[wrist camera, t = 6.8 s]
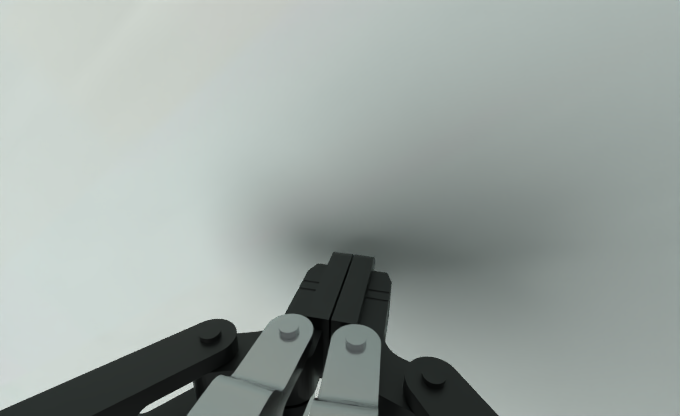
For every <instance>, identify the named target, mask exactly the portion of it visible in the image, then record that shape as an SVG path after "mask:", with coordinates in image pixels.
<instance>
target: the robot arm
mask: <svg viewBox="0 0 680 416" xmlns="http://www.w3.org/2000/svg"><path fill="white" fill-rule="evenodd" d="M374 264H375V258H374V257H369V256H362V255H353V254H345V253H338V252H333V254H332V256H331V258H330V260H329V263H328V265H325V264H317V265H315V266H314V267H312V268H311V269H310V270H308V272H307V274H306V276H305V278H304V279H303V281H302V283H301V285H300V287H299V289H298V291H297V292H296V294H295V296H294V298H293V300H292V302H291V304H290V305H289V307H288V309H287V311H286V313H285V314H284V315H281V316H278V317H276V318H274V319H273V320H271V321H270V322H269V323H268V325H267V326H266V327H265V329H264V330H263V331H259V332H249V333H237V331H236V327H235V325H234V324H233V323H231V322H230V321H228V320H224V319H212V320H207V321H204V322H202V323H199V324H197V325H195V326H193V327H190V328H188V329H186V330H183V331H181V332H179V333H177V334H174V335H172V336H170V337H167V338H165V339H163V340H161V341H158V342H156V343H154V344H151V345H149V346H147V347H145V348H142V349H140V350H138V351H136V352H133V353H131V354H129V355H126V356H124V357H122V358H120V359H117V360H115V361H113V362H110V363H108V364H106V365H104V366H101V367H99V368H97V369H94V370H92V371H90V372H88V373H85V374H83V375H81V376H78V377H76V378H74V379H72V380H69V381H67V382H65V383H62V384H60V385H58V386H56V387H53V388H51V389H49V390H46V391H44V392H42V393H40V394H37V395H35V396H33V397H30V398H28V399H26V400H24V401H21V402H19V403H17V404H14V405H12V406H10V407H8V408H5V409H3V410H1V411H0V416H308V415H309V416H498V415H497V414H496V413H495V412H494V410H493V409H492V408H491V407H490V406H489V405H488V404H487V403H486V402H485V401H484V400H483V399H482V398H481V397H480V395H479V394H478V393H477V392H476V391H475V390H474V389H473V388H472V387H471V386H470V385H469V384H468V383H467V381H466V380H465V379H464V378H463V377H462V376H461V375H460V374H459V373H458V372H457V371H456V370H455V369H454V368H453V367H452V366H451V365H450V364H448V363H447V362H445V361H443V360H441V359H438V358H434V357H420V358H416V359H414V360H413V361H411V362H408V361H406V360H404V359H402V358H400V357H398V356H397V355H395V354H394V353H393V352H392V351H391V350H390V349H389V348H388V346H387V345H386V343H385V339H386V332H387V325H388V318H389V307H390V296H391V284H392V282H391V280H390V278H389V276H388V274H387V273H385V272H377V271H374ZM319 378H322V381H321V386H320V390H319V395H318V398H315V390H316V387H317V384H318V381H319ZM191 382H193V385H194V388H192V389H190V390H188V391H186V392H184V393H182V394H181V395H179V396H177V397H175V398H173V399H171V400H169V401H168V402H166V403H164V404H162V405H160V406H158V407H156V408H155V409H153V410H151V411H149V412H146V413H143V414H139V413H140V412H141V410H142V409H143V408H145V407H146V406H147V405H149V404H151V403H153V402H155V401H156V400H158V399H160V398H162V397H164V396H166V395H168V394H170V393H172V392H174V391H175V390H177V389H179V388H181V387H183V386H185V385H187V384H189V383H191Z"/></svg>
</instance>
